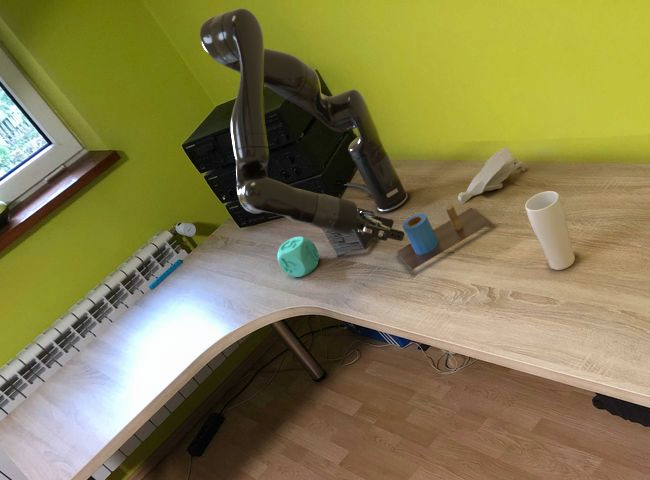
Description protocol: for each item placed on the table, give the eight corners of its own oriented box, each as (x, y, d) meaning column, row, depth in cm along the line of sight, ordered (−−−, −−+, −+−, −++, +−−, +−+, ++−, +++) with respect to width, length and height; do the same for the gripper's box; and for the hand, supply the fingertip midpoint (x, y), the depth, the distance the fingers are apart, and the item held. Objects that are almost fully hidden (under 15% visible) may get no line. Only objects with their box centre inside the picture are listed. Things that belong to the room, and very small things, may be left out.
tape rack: (398, 256, 160) (385, 232, 155) (473, 212, 161) (462, 186, 157) (414, 274, 150) (401, 249, 146) (493, 227, 152) (483, 201, 147)
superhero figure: (512, 168, 173) (451, 201, 169) (504, 135, 168) (441, 169, 163) (534, 175, 165) (471, 210, 161) (527, 142, 160) (461, 177, 155)
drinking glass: (581, 250, 131) (561, 187, 122) (576, 271, 126) (556, 206, 118) (549, 255, 134) (528, 194, 125) (543, 275, 130) (521, 213, 121)
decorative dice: (310, 275, 172) (295, 251, 167) (288, 279, 175) (272, 256, 171) (323, 257, 177) (308, 233, 172) (300, 261, 181) (286, 238, 176)
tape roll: (412, 248, 157) (399, 223, 152) (433, 236, 157) (420, 210, 153) (420, 257, 152) (407, 231, 148) (441, 245, 152) (429, 218, 148)
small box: (379, 239, 171) (361, 206, 165) (368, 253, 168) (350, 220, 161) (348, 243, 177) (330, 211, 171) (337, 257, 173) (318, 225, 167)
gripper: (344, 207, 135) (412, 225, 143) (329, 188, 147) (393, 206, 154) (334, 240, 138) (402, 256, 145) (320, 219, 149) (384, 235, 157)
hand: (397, 230), depth 150 cm, fingers open, 8 cm apart
